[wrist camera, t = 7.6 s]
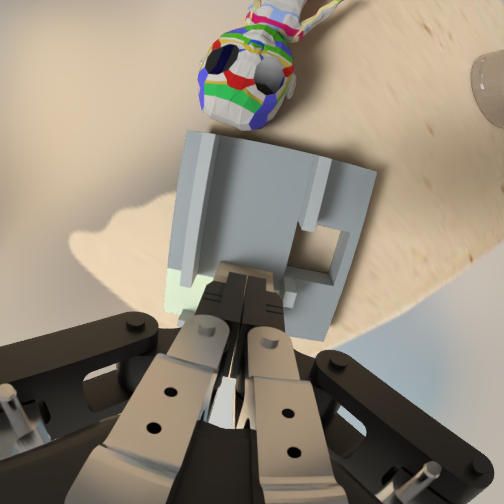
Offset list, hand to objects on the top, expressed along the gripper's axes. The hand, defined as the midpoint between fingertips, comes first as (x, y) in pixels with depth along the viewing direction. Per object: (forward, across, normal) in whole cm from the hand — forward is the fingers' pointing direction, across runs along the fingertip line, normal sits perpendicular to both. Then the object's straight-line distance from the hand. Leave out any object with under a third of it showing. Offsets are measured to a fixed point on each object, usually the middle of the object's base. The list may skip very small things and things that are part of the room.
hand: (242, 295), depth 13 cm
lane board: (+19, -1, +3) cm, 19 cm away
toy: (+19, +1, -22) cm, 29 cm away
